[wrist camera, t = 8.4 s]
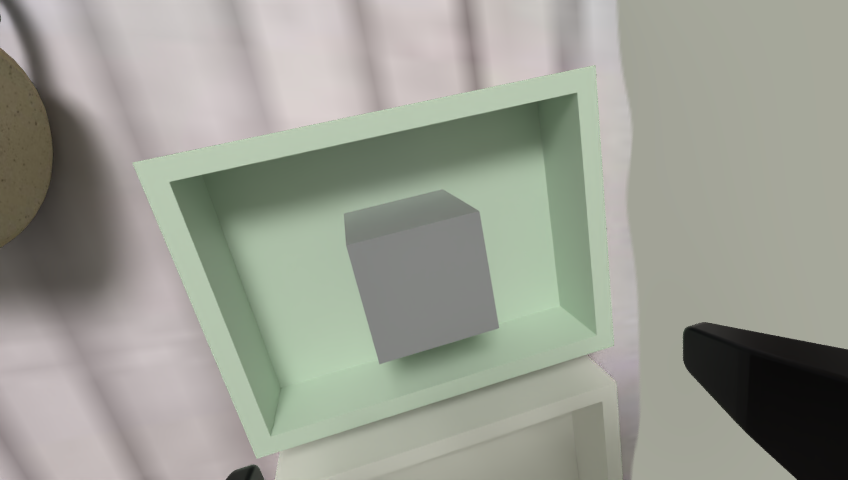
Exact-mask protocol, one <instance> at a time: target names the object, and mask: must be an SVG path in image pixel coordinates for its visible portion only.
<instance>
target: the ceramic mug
mask: <svg viewBox="0 0 848 480" xmlns="http://www.w3.org/2000/svg"><path fill="white" fill-rule="evenodd" d="M0 22H1V16H0ZM52 161H53V146H52V136H51V131H50V126H49V121H48V117H47V113H46V110H45V107H44V105H43V103H42V101H41V98H40V96H39V94H38V92H37V90H36V88H35V87H34V85H33V84H32V82H31V81H30V79H29V78H28V76H27V75H26V73H25V72H24V71H23V69H22V68H21V67H20V66H19V65H18V64H17V63H16V61H15V60H14V59H13V58H11V57H10V56H9V55H8V54H7V53H6V52H5V51H3V50H2V49H1V48H0V248H1V247H2V246H4V245H5V244H7V243H8V242H10V241H11V240H13V239H14V238H15V237H16V236H17V235H19V234H20V233H21V232H22V231H23V230H24V229H25V228H26V227H27V225H28V224H29V223H30V222H31V221H32V219H33V218H34V217H35V215H36V213H37V212H38V210H39V208H40V206H41V204H42V203H43V201H44V199H45V196H46V193H47V190H48V187H49V184H50V179H51V171H52Z"/></svg>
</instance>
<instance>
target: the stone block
mask: <svg viewBox="0 0 848 480" xmlns="http://www.w3.org/2000/svg"><path fill="white" fill-rule="evenodd" d="M344 225H345V238H346V247H347V251H348V254H349V258H350V261H351V265H352V268H353V272H354V276H355V279H356V283H357V286H358V290H359V293H360V297H361V300H362V304H363V308H364V311H365V315H366V318H367V322H368V325H369V329H370V332H371V336H372V340H373V343H374V347H375V350H376V354H377V357H378V361H379V364H382V363H386V362H389V361H392V360H396V359H399V358H402V357H405V356H409V355H412V354H415V353H419V352H422V351H425V350H429V349H432V348H435V347H439V346H442V345H445V344H449V343H452V342H455V341H459V340H462V339H465V338H469V337H472V336H475V335H479V334H482V333H485V332H488V331H492V330H495V329H498V328H499V324H498V318H497V312H496V306H495V300H494V294H493V289H492V283H491V277H490V271H489V265H488V259H487V253H486V247H485V241H484V235H483V229H482V224H481V218H480V212H479V211H478V210H477V209H475V208H473V207H472V206H470V205H468V204H467V203H465V202H463V201H462V200H460V199H458V198H457V197H455V196H453V195H452V194H450V193H448V192H447V191H445V190H443V189H441V190H437V191H433V192H429V193H425V194H421V195H417V196H413V197H409V198H405V199H400V200H396V201H392V202H388V203H384V204H380V205H376V206H372V207H368V208H364V209H360V210H356V211H352V212H348V213H344Z"/></svg>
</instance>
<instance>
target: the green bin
mask: <svg viewBox="0 0 848 480" xmlns="http://www.w3.org/2000/svg"><path fill="white" fill-rule="evenodd" d="M133 166H134V168H135V170H136V173H137V175H138V178H139V180H140V182H141V185H142V187H143V190H144V192H145V194H146V197H147V199H148V201H149V204H150V206H151V209H152V211H153V213H154V216H155V218H156V220H157V223H158V225H159V228H160V230H161V232H162V235H163V237H164V239H165V242H166V244H167V247H168V249H169V251H170V254H171V256H172V259H173V261H174V263H175V266H176V268H177V270H178V273H179V275H180V278H181V280H182V282H183V285H184V287H185V289H186V292H187V294H188V297H189V299H190V301H191V304H192V306H193V309H194V311H195V313H196V316H197V318H198V320H199V323H200V325H201V328H202V330H203V332H204V335H205V337H206V339H207V342H208V344H209V347H210V349H211V351H212V354H213V356H214V358H215V361H216V363H217V366H218V368H219V370H220V373H221V375H222V378H223V380H224V382H225V385H226V387H227V389H228V392H229V394H230V397H231V399H232V401H233V404H234V406H235V408H236V411H237V413H238V416H239V418H240V420H241V423H242V425H243V428H244V430H245V432H246V435H247V437H248V439H249V442H250V444H251V447H252V449H253V451H254V454H255V456H256V458H257V459H258V458H261V457H264V456H267V455H270V454H273V453H277V452H280V451H283V450H286V449H289V448H292V447H296V446H299V445H302V444H305V443H308V442H311V441H315V440H318V439H321V438H324V437H327V436H330V435H334V434H337V433H340V432H343V431H346V430H349V429H353V428H356V427H359V426H362V425H365V424H368V423H371V422H375V421H378V420H381V419H384V418H387V417H390V416H394V415H397V414H400V413H403V412H406V411H409V410H413V409H416V408H419V407H422V406H425V405H428V404H432V403H435V402H438V401H441V400H444V399H447V398H451V397H454V396H457V395H460V394H463V393H466V392H470V391H473V390H476V389H479V388H482V387H485V386H489V385H492V384H495V383H498V382H501V381H504V380H508V379H511V378H514V377H517V376H520V375H523V374H527V373H530V372H533V371H536V370H539V369H542V368H546V367H549V366H552V365H555V364H558V363H561V362H565V361H568V360H571V359H574V358H577V357H580V356H583V355H587V354H590V353H593V352H596V351H599V350H602V349H606V348H609V347H612V346H614V337H613V322H612V307H611V292H610V277H609V262H608V247H607V232H606V217H605V202H604V187H603V172H602V157H601V142H600V127H599V112H598V97H597V82H596V67H595V65H594V66H589V67H585V68H580V69H575V70H570V71H566V72H561V73H556V74H551V75H547V76H542V77H537V78H532V79H528V80H523V81H518V82H513V83H509V84H504V85H499V86H494V87H490V88H485V89H480V90H475V91H471V92H466V93H461V94H456V95H452V96H447V97H442V98H437V99H433V100H428V101H423V102H418V103H414V104H409V105H404V106H399V107H395V108H390V109H385V110H380V111H376V112H371V113H366V114H361V115H357V116H352V117H347V118H342V119H338V120H333V121H328V122H323V123H319V124H314V125H309V126H304V127H300V128H295V129H290V130H285V131H281V132H276V133H271V134H266V135H262V136H257V137H252V138H247V139H243V140H238V141H233V142H228V143H224V144H219V145H214V146H209V147H205V148H200V149H195V150H190V151H186V152H181V153H176V154H171V155H167V156H162V157H157V158H153V159H148V160H143V161H138V162H134V163H133ZM441 189H443V190H445V191H447V192H448V193H450V194H452V195H453V196H455V197H457V198H458V199H460V200H462V201H463V202H465V203H467V204H468V205H470V206H472V207H473V208H475V209H477V210H478V211H479V212H480V218H481V224H482V229H483V235H484V241H485V247H486V253H487V259H488V265H489V271H490V277H491V283H492V289H493V294H494V300H495V306H496V312H497V318H498V324H499V328H498V329H495V330H492V331H488V332H485V333H482V334H479V335H475V336H472V337H469V338H465V339H462V340H459V341H455V342H452V343H449V344H445V345H442V346H439V347H435V348H432V349H429V350H425V351H422V352H419V353H415V354H412V355H409V356H405V357H402V358H399V359H396V360H392V361H389V362H386V363H382V364H379V361H378V357H377V354H376V350H375V347H374V343H373V340H372V336H371V332H370V329H369V325H368V322H367V318H366V315H365V311H364V308H363V304H362V300H361V297H360V293H359V290H358V286H357V283H356V279H355V276H354V272H353V268H352V265H351V261H350V258H349V254H348V251H347V247H346V238H345V225H344V213H348V212H352V211H356V210H360V209H364V208H368V207H372V206H376V205H380V204H384V203H388V202H392V201H396V200H400V199H405V198H409V197H413V196H417V195H421V194H425V193H429V192H433V191H437V190H441Z"/></svg>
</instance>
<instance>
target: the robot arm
mask: <svg viewBox="0 0 848 480" xmlns="http://www.w3.org/2000/svg"><path fill="white" fill-rule="evenodd" d="M683 361H684V364H685V366H686V368H687V370H688V371H689V372H690V373H691V375H692V376H693V377H694V378H695V379H696V380H697V381H698V382H699V383H700V384H701V385H702V386H703V387H704V389H705V390H706V391H707V392H708V393H709V394H710V395H711V396H712V397H713V398H714V399H715V400H716V401H717V403H718V404H719V405H720V406H721V407H722V408H723V409H724V410H725V411H726V412H727V413H728V414H729V415H730V416H731V418H733V420H734V421H735V422H736V423H737V424H739V426H740V427H741V428H742V429H743V430H744V431H745V432H746V433H747V434H748V435H749V436H750V437H751V438H752V439H753V440H754V441H755V442H756V443H758V444H759V445H760V446H761V447H762V448H763V449H764V450H765V451H766V452H767V453H769V454H770V455H771V456H772V457H773V458H774V459H775V460H776V461H777V462H778V463H780V464H781V465H782V466H783V467H784V468H785V469H786V470H787V471H788V472H789V473H790V474H792V475H793V476H794V477H795V478H796V479H797V480H848V349H842V348H837V347H832V346H827V345H821V344H816V343H811V342H806V341H800V340H795V339H790V338H785V337H780V336H775V335H769V334H764V333H759V332H754V331H749V330H743V329H738V328H733V327H728V326H722V325H717V324H712V323H706V322H702V323H698V324H695V325H692V326H688V327H687V328H685V330H684V332H683ZM226 480H264V478H263V476H262V473H261V471H260V469H259V467H258V466H257V465H250V466H247V467H243V468H240V469H237V470H235V471H233V472H232V473H231V474H230V475H229V476H228V477H227V479H226Z"/></svg>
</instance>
